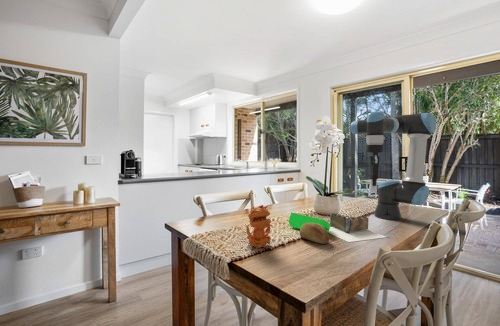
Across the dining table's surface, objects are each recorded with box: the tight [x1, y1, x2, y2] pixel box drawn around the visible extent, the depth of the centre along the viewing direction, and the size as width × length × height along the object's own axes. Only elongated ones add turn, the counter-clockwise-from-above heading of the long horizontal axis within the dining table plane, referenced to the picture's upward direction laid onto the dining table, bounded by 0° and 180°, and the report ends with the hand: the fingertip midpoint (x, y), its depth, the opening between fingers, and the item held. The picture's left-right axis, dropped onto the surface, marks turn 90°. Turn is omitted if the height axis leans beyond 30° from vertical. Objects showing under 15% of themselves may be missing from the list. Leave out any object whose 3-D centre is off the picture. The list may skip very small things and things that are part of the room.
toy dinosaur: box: [245, 204, 272, 249], centre depth 108 cm, size 11×11×18 cm
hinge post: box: [345, 216, 351, 233], centre depth 128 cm, size 2×2×8 cm
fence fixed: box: [329, 212, 347, 231], centre depth 135 cm, size 2×12×8 cm, turn 20°
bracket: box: [288, 212, 331, 231], centre depth 133 cm, size 20×10×7 cm, turn 44°
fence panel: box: [350, 215, 369, 232], centre depth 131 cm, size 12×1×7 cm, turn 114°
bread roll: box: [298, 223, 330, 245], centre depth 116 cm, size 10×15×8 cm, turn 39°
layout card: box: [327, 226, 387, 243], centre depth 129 cm, size 23×23×1 cm
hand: (373, 192), depth 126 cm, fingers closed
